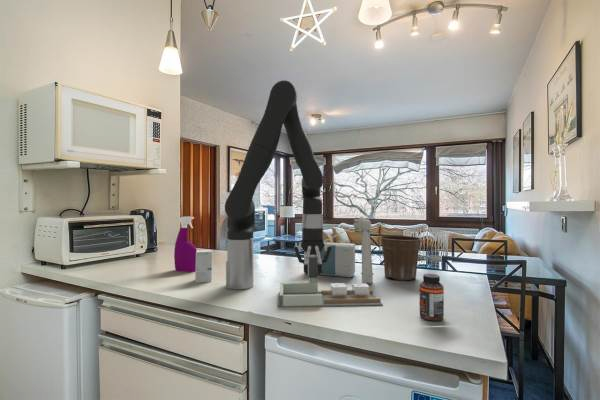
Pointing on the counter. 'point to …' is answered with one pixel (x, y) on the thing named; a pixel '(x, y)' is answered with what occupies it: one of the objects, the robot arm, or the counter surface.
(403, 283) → the counter surface
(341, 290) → the white cube
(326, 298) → the slot board
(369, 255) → the white hammer
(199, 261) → the skincare box
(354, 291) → the white small cube
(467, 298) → the counter surface
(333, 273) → the white striped box
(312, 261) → the scraper
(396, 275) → the plant pot
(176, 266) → the spray bottle
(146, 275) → the counter surface
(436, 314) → the supplement bottle
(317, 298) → the tray
